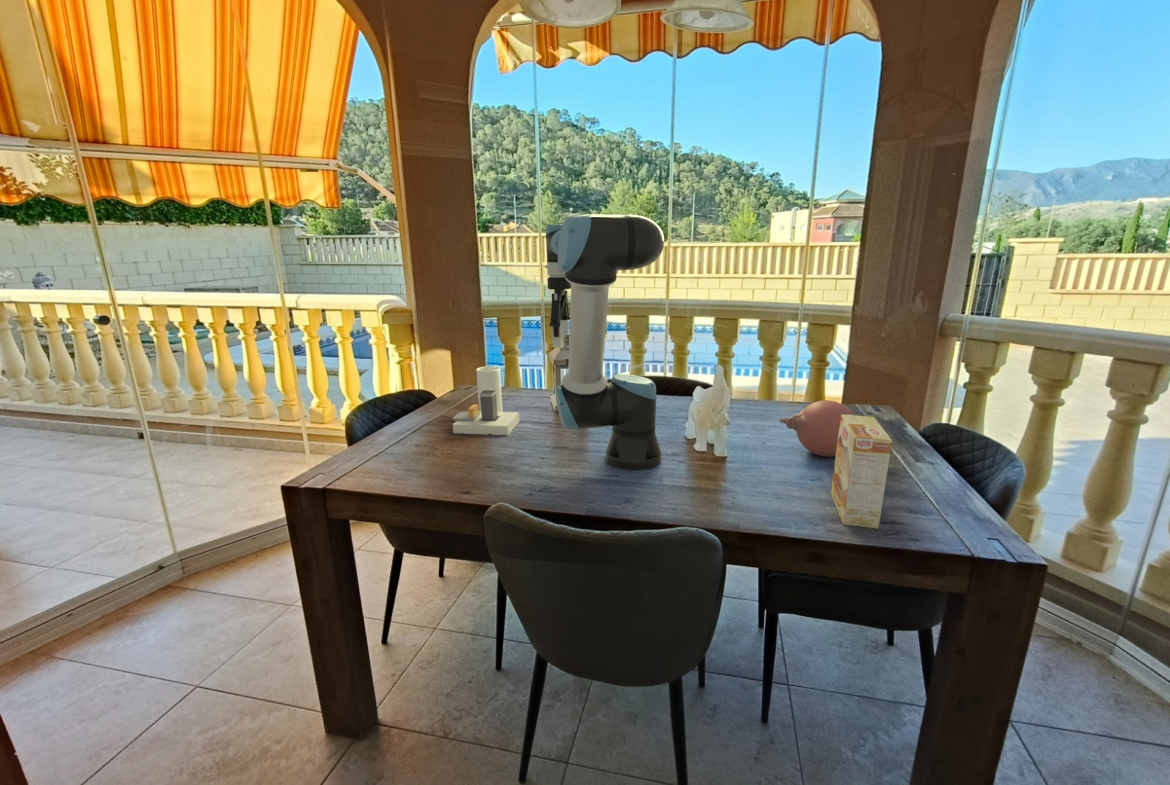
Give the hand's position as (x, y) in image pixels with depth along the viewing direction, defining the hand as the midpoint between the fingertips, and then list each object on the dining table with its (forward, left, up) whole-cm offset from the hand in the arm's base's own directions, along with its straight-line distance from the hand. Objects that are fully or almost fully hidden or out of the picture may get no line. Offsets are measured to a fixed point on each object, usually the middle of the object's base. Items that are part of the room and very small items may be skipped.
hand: (561, 343), depth 164 cm
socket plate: (+24, +8, -27) cm, 37 cm away
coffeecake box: (-74, +53, -27) cm, 95 cm away
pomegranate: (-75, +21, -27) cm, 82 cm away
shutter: (+31, +8, -24) cm, 40 cm away
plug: (+23, +8, -27) cm, 36 cm away
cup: (+28, -8, -27) cm, 40 cm away
